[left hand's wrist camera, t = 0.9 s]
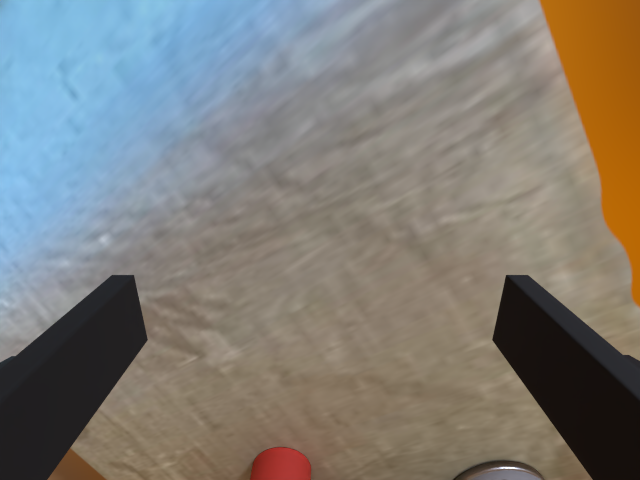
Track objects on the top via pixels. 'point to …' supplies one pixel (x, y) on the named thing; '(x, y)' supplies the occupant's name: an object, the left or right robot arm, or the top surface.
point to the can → (281, 465)
